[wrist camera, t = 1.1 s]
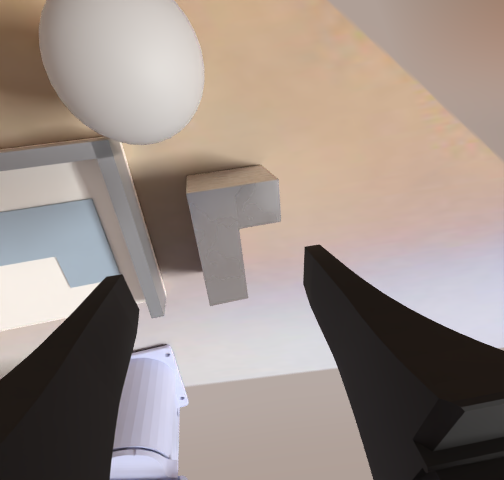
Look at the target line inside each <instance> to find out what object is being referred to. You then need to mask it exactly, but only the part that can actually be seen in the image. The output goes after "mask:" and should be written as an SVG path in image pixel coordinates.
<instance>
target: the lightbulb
mask: <svg viewBox="0 0 504 480" xmlns="http://www.w3.org/2000/svg"><path fill="white" fill-rule="evenodd" d="M39 48H40V52H41V57H42V61H43V65H44V68H45V70H46V73H47V75H48V78H49V80H50V83H51V85H52V86H53V88H54V90H55V91H56V93H57V95H58V96H59V98H60V100H61V101H62V102H63V103H64V104H65V106H66V107H67V108H68V109H69V110H70V112H71V113H72V114H73V115H74V116H76V117H77V118H78V119H79V120H80V121H81V122H82V123H83V124H85V125H86V126H88V127H89V128H91V129H92V130H94V131H95V132H97V133H99V134H101V135H103V136H105V137H108V138H110V139H112V140H115V141H118V142H122V143H127V144H135V145H147V144H153V143H158V142H161V141H163V140H166V139H169V138H171V137H172V136H174V135H175V134H177V133H178V132H180V131H181V130H182V129H183V128H184V127H185V126H186V125H187V124H188V123H189V122H190V120H191V119H192V117H193V115H194V114H195V112H196V111H197V108H198V106H199V103H200V100H201V98H202V93H203V87H204V62H203V56H202V51H201V47H200V44H199V42H198V39H197V36H196V33H195V31H194V29H193V27H192V25H191V24H190V22H189V20H188V18H187V16H186V15H185V14H184V12H183V11H182V10H181V8H180V7H179V6H178V4H177V3H176V2H175V1H174V0H46V3H45V5H44V7H43V10H42V13H41V19H40V24H39Z"/></svg>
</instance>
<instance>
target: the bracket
mask: <svg viewBox="0 0 504 480" xmlns="http://www.w3.org/2000/svg"><path fill="white" fill-rule="evenodd" d="M186 196H187V200H188V205H189V210H190V214H191V219H192V224H193V228H194V233H195V238H196V242H197V247H198V252H199V256H200V261H201V266H202V270H203V275H204V280H205V284H206V289H207V294H208V298H209V303H210V306H213V305H217V304H222V303H227V302H232V301H236V300H241V299H246V298H248V293H247V285H246V278H245V270H244V263H243V255H242V248H241V240H240V232H239V229H241V228H247V227H253V226H258V225H264V224H270V223H276V222H281V212H280V194H279V179H278V178H276V177H275V176H274V175H273V174H272V173H270V172H269V171H268V170H267V169H266V168H264V167H263V166H262V165H257V166H250V167H243V168H236V169H229V170H222V171H215V172H208V173H201V174H194V175H188V176H187V182H186Z"/></svg>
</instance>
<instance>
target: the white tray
mask: <svg viewBox="0 0 504 480" xmlns="http://www.w3.org/2000/svg"><path fill="white" fill-rule="evenodd" d="M121 274H123V276H124V279H125V281H126V283H127V285H128V287H129V289H130V291H131V293H132V295H133V298H134V300H135V302H136V304H137V303H142V302H146V303H147V306H148V309H149V312H150V315H151V318H157V317H161V316H164V312H165V303H166V294H167V293H166V290H165V287H164V283H163V280H162V277H161V273H160V270H159V267H158V263H157V260H156V256H155V253H154V250H153V246H152V243H151V240H150V236H149V233H148V230H147V226H146V223H145V219H144V216H143V213H142V209H141V206H140V203H139V199H138V196H137V193H136V189H135V186H134V182H133V179H132V176H131V172H130V169H129V166H128V162H127V159H126V155H125V152H124V149H123V145H122V142H118V141H115V140H112V139H110V138H108V137H97V138H89V139H81V140H73V141H64V142H56V143H48V144H40V145H31V146H23V147H15V148H7V149H0V331H5V330H10V329H15V328H20V327H25V326H30V325H35V324H39V323H44V322H49V321H54V320H59V319H64V318H68V317H69V316H70V315H71V314H72V313H73V312H74V311H75V309H76V308H77V307H78V306H79V305H80V304H81V303H82V302H83V301H84V300H85V299H86V298H87V297H88V295H89V294H90V293H91V292H92V291H93V290H94V289H95V288H96V287H97V286H98V285H99V284H100V283H101V282H102V280H104V279H105V278H106V277H107V276H114V275H121Z"/></svg>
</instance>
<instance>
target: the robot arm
mask: <svg viewBox="0 0 504 480" xmlns="http://www.w3.org/2000/svg"><path fill="white" fill-rule="evenodd" d="M303 284H304V287H305V291H306V294H307V297H308V300H309V303H310V306H311V308H312V310H313V313H314V315H315V317H316V319H317V321H318V324H319V326H320V328H321V330H322V332H323V334H324V337H325V339H326V341H327V343H328V345H329V347H330V350H331V352H332V354H333V356H334V359H335V361H336V364H337V366H338V369H339V372H340V375H341V378H342V381H343V383H344V386H345V389H346V392H347V395H348V398H349V401H350V404H351V407H352V410H353V413H354V416H355V419H356V423H357V426H358V429H359V432H360V436H361V439H362V442H363V445H364V449H365V452H366V455H367V459H368V462H369V466H370V469H371V473H372V476H373V479H374V480H504V351H503V350H500V349H498V348H495V347H492V346H490V345H487V344H484V343H482V342H479V341H477V340H475V339H472V338H470V337H468V336H465V335H463V334H460V333H458V332H456V331H454V330H451V329H449V328H447V327H445V326H443V325H441V324H438V323H436V322H434V321H432V320H430V319H428V318H426V317H424V316H422V315H420V314H419V313H417V312H415V311H413V310H411V309H409V308H407V307H406V306H404V305H402V304H401V303H399V302H397V301H395V300H394V299H392V298H390V297H389V296H387V295H386V294H384V293H382V292H381V291H379V290H378V289H376V288H375V287H373V286H372V285H371V284H369V283H368V282H366V281H365V280H363V279H362V278H361V277H359V276H358V275H357V274H355V273H354V272H353V271H351V270H350V269H349V268H348V267H346V266H345V265H344V264H343V263H341V262H340V261H339V260H338V259H336V258H335V257H334V256H333V255H332V254H330V253H329V252H328V251H327V250H326V249H324V248H323V247H322V246H321V245H314V246H307V247H305V255H304V281H303ZM138 318H139V308H138V306H137V304H136V302H135V300H134V298H133V295H132V293H131V291H130V289H129V287H128V285H127V283H126V281H125V279H124V276H123V274H121V275H114V276H107V277H106V278H105V279H104V280H102V282H101V283H100V284H99V285H98V286H97V287H96V288H95V289H94V290H93V291H92V292H91V293H90V294H89V295H88V297H87V298H86V299H85V300H84V301H83V302H82V303H81V304H80V305H79V306H78V307H77V308H76V309H75V311H74V312H73V313H72V314H71V315H70V316H69V317H68V318H67V319H66V320H65V321H64V322H63V323H62V324H61V325H60V326H59V327H58V328H57V329H56V330H55V331H54V332H53V333H52V334H51V335H50V336H49V337H48V338H47V339H46V340H45V341H44V342H43V343H42V344H41V345H40V346H39V347H38V348H37V349H35V350H34V351H33V352H32V353H31V354H30V355H29V356H28V357H27V358H26V359H24V360H23V361H22V362H21V363H20V364H19V365H17V366H16V367H15V368H14V369H13V370H12V371H10V372H9V373H8V374H7V375H6V376H4V377H3V378H2V379H1V380H0V480H187V478H186V476H178V455H179V453H178V452H179V416H180V414H179V413H180V407H184V406H186V405H188V397H187V394H186V391H185V388H184V385H183V382H182V379H181V376H180V373H179V369H178V366H177V363H176V360H175V357H174V354H173V351H172V348H171V346H168V345H166V346H161V347H157V348H152V349H148V350H144V351H139V352H135V353H132V351H133V347H134V343H135V339H136V334H137V327H138ZM166 353H169V354H166Z"/></svg>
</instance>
